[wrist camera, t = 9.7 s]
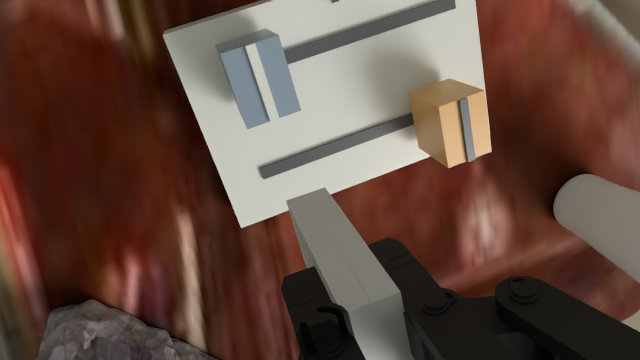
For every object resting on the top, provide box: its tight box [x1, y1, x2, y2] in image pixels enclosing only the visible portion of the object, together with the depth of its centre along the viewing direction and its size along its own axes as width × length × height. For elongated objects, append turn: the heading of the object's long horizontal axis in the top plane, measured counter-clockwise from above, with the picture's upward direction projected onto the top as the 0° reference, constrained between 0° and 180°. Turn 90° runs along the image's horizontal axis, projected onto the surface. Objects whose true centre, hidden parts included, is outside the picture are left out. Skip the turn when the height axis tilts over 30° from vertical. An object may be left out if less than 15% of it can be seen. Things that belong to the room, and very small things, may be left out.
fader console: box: [163, 0, 490, 228], centre depth 31 cm, size 19×13×3 cm
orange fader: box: [408, 78, 492, 168], centre depth 29 cm, size 3×4×4 cm
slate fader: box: [215, 28, 301, 129], centre depth 25 cm, size 3×4×4 cm
